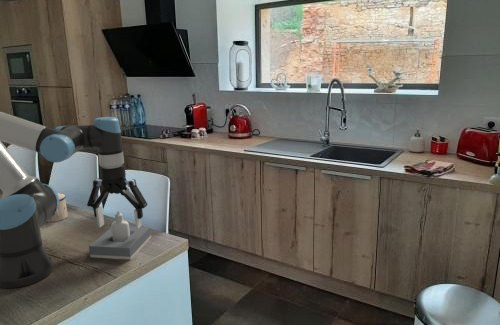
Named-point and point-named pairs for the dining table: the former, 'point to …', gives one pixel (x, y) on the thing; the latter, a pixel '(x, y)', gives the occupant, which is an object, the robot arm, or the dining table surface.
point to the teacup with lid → (60, 210)
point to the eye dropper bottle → (120, 228)
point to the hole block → (120, 244)
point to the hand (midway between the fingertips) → (119, 226)
